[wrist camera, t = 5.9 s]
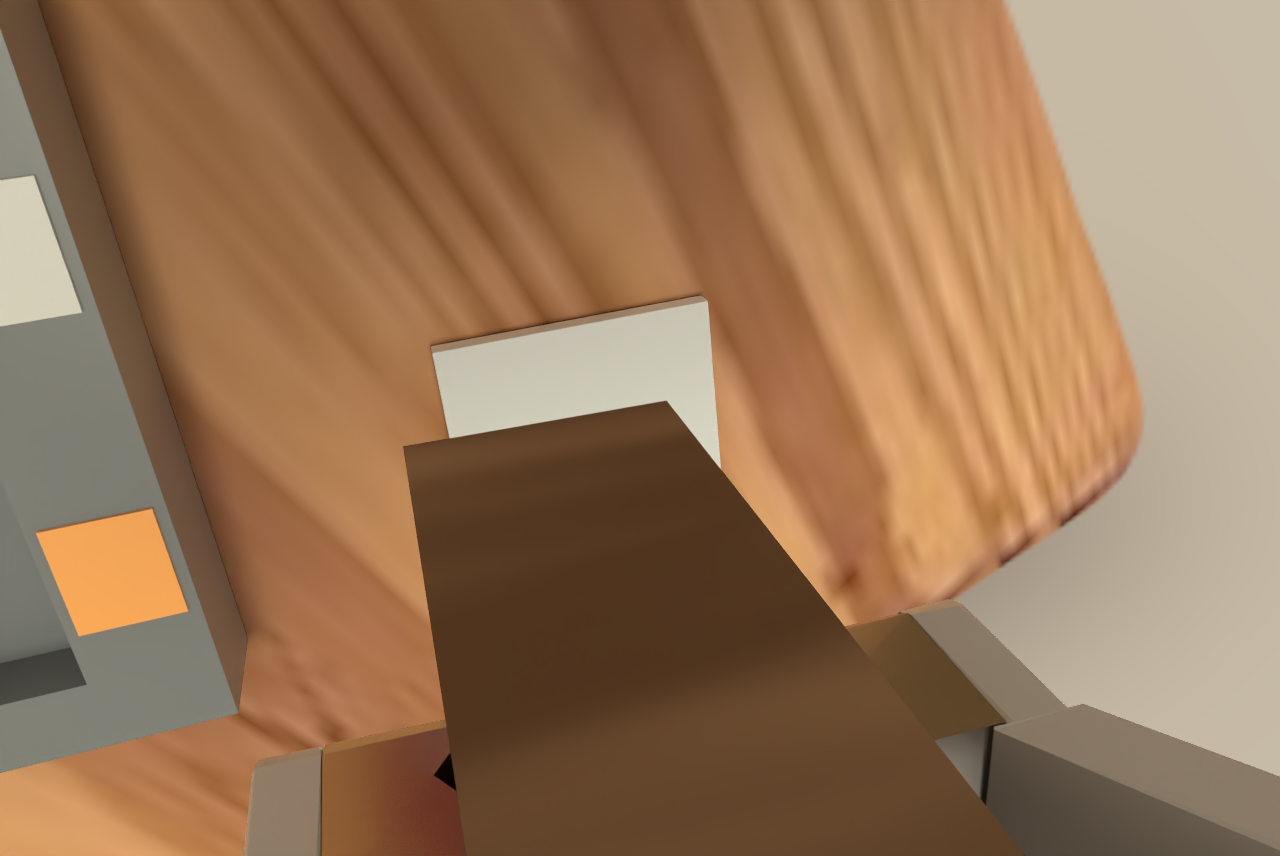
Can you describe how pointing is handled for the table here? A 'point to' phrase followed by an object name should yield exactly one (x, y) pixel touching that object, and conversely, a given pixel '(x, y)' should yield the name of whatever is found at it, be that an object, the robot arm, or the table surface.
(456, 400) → the pad
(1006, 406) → the table surface
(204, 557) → the switch panel
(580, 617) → the brown wooden beam
